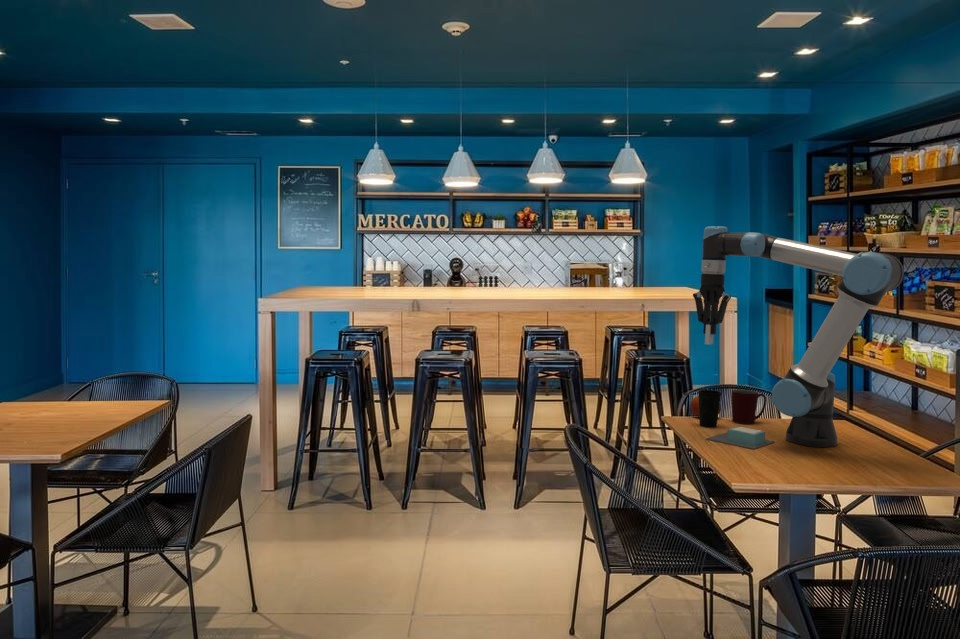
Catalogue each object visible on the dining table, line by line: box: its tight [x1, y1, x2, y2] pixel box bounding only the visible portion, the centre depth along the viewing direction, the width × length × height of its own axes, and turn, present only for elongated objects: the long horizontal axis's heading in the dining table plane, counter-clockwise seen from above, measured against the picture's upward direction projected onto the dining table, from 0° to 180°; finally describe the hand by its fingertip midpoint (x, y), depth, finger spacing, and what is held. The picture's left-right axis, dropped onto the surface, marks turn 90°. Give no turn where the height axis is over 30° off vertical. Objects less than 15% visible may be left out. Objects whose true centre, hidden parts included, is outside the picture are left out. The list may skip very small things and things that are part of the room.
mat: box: [705, 431, 775, 451], centre depth 234 cm, size 14×16×1 cm
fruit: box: [690, 395, 722, 417], centre depth 269 cm, size 11×10×8 cm
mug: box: [731, 389, 767, 425], centre depth 262 cm, size 12×9×11 cm
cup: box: [697, 389, 722, 429], centre depth 255 cm, size 8×8×12 cm
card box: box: [727, 426, 766, 446], centre depth 232 cm, size 4×7×9 cm
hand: (708, 343), depth 245 cm, fingers closed
